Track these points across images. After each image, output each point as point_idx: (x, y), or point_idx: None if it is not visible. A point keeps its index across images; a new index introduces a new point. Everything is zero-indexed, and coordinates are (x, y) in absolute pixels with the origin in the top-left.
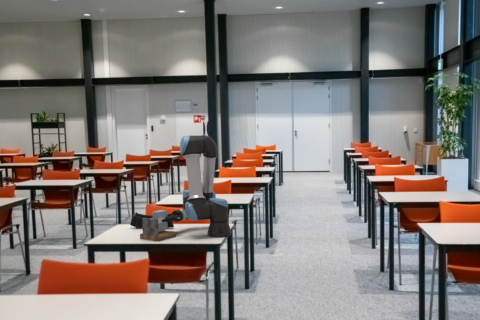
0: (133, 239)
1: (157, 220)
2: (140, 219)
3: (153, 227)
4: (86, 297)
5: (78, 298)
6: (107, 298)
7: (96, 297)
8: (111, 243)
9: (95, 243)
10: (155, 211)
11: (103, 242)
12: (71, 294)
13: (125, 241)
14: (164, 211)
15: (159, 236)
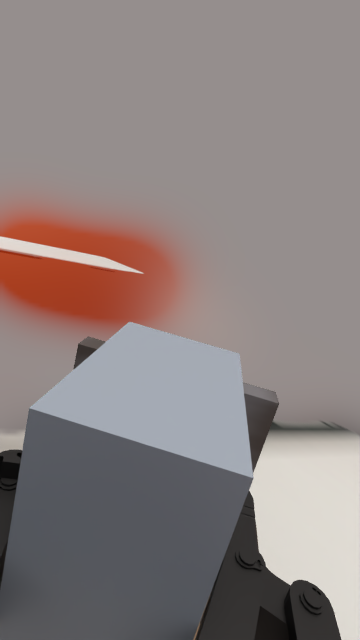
0: (268, 529)
1: (80, 350)
2: None
3: None
4: (48, 254)
5: (56, 255)
6: (19, 248)
7: (35, 252)
8: (282, 439)
9: (341, 438)
10: (217, 361)
11: (335, 453)
12: (72, 261)
13: (261, 475)
14: (74, 375)
15: None
